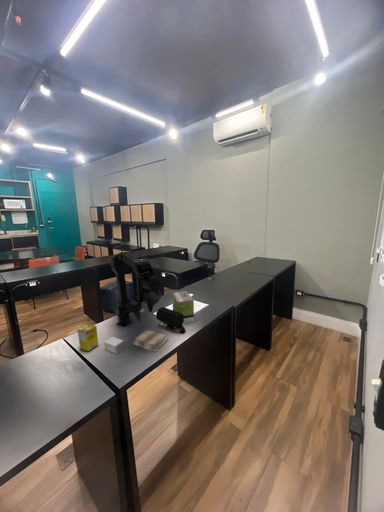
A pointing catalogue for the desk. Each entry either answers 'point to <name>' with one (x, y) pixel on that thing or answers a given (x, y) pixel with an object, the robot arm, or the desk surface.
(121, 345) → the block
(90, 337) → the supplement box
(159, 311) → the security camera
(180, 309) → the tea box
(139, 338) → the stand
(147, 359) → the desk surface
